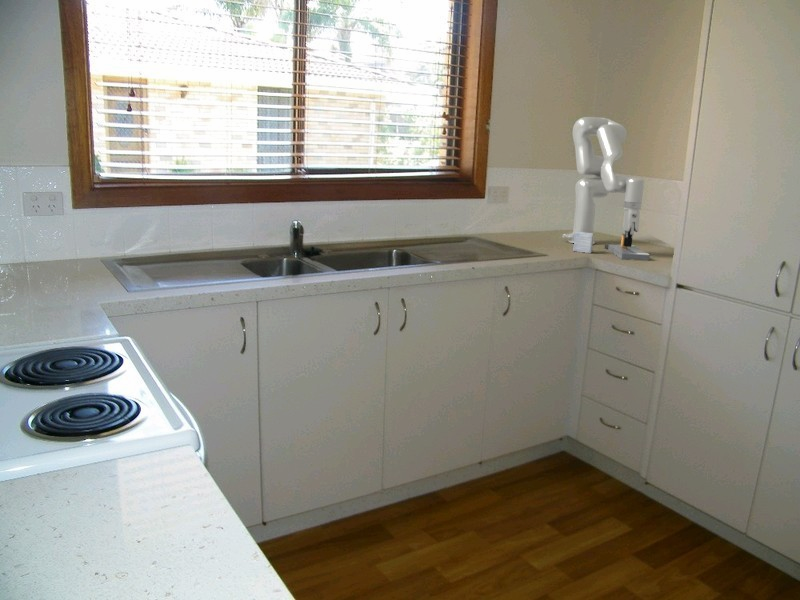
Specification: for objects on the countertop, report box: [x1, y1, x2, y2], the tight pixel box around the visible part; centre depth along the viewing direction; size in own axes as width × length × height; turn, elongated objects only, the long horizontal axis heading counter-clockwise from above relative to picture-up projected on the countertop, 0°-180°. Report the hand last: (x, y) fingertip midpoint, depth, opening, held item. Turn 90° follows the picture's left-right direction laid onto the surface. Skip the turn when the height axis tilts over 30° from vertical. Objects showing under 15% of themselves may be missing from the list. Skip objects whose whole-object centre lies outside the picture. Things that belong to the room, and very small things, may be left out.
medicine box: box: [572, 232, 595, 254], centre depth 319 cm, size 8×4×9 cm, turn 65°
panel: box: [607, 244, 651, 261], centre depth 318 cm, size 12×24×3 cm, turn 178°
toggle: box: [620, 233, 627, 249], centre depth 323 cm, size 3×2×8 cm
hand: (627, 246), depth 319 cm, fingers closed
